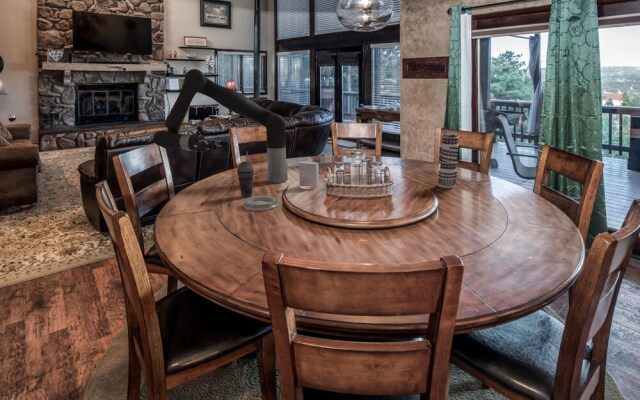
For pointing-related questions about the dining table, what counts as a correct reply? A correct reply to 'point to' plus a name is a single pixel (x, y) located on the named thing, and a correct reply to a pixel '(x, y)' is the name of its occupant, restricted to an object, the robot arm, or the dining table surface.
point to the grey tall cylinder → (448, 160)
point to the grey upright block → (308, 173)
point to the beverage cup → (245, 178)
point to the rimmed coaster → (260, 203)
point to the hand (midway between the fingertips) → (222, 145)
